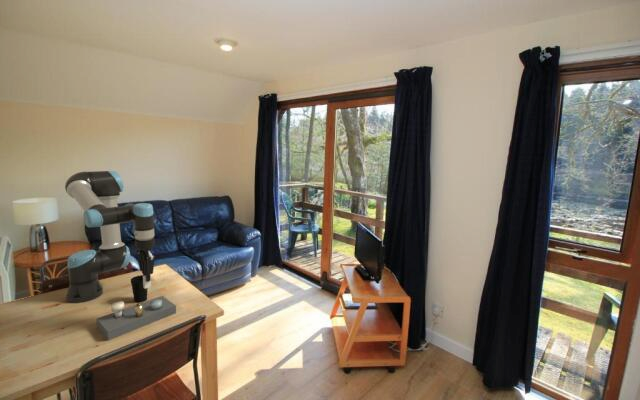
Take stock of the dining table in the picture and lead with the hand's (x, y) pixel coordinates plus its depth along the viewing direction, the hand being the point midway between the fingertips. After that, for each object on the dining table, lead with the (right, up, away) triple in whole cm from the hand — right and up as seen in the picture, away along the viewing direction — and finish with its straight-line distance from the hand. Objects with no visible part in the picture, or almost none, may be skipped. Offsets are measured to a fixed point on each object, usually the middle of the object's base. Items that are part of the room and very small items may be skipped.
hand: (147, 287), depth 138 cm
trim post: (-1, -12, -4) cm, 12 cm away
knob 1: (-10, -12, -5) cm, 17 cm away
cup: (-13, -12, +17) cm, 25 cm away
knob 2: (+2, -14, +4) cm, 15 cm away
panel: (-4, -15, 0) cm, 16 cm away
